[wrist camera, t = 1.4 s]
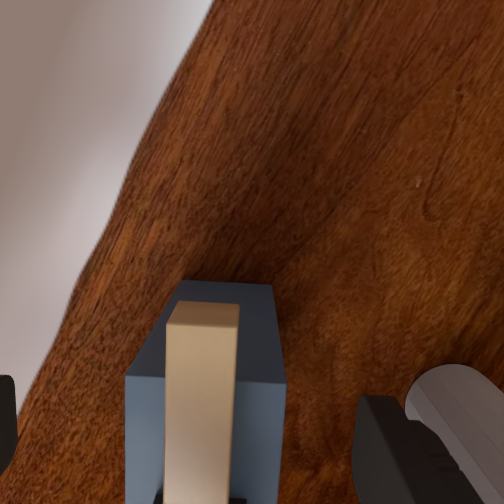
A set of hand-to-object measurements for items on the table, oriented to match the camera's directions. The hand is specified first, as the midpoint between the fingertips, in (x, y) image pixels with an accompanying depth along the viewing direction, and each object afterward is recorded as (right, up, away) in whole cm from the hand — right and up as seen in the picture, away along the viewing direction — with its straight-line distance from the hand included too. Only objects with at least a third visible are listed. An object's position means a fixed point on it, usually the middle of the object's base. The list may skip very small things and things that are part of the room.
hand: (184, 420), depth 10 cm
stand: (0, -2, +19) cm, 20 cm away
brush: (0, -4, +7) cm, 8 cm away
